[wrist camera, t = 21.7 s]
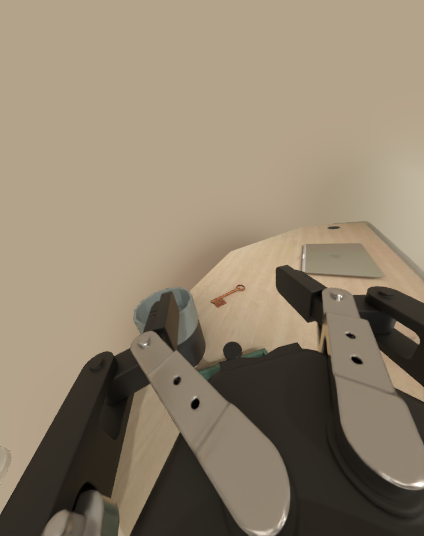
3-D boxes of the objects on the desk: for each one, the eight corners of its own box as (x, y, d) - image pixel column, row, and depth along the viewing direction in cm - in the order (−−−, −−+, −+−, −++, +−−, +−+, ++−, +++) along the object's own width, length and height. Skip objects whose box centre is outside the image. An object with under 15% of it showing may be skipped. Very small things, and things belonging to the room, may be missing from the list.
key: (216, 309, 55) (250, 291, 60) (215, 307, 54) (250, 290, 59) (209, 299, 59) (241, 284, 64) (208, 298, 59) (240, 282, 64)
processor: (160, 386, 35) (131, 336, 28) (155, 342, 46) (134, 299, 39) (212, 358, 38) (199, 308, 32) (197, 324, 50) (184, 281, 43)
